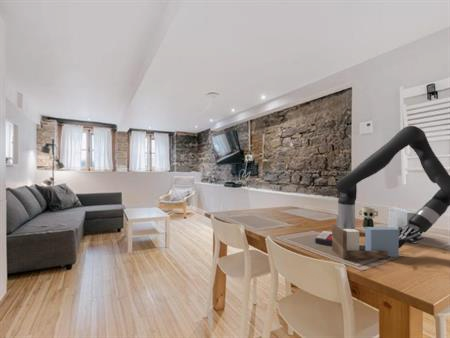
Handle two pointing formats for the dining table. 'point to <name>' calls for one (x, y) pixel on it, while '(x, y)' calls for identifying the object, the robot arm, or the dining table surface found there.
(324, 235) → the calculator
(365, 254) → the book rack
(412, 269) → the dining table surface
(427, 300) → the dining table surface
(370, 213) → the character mug
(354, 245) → the shelved book
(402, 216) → the skincare box
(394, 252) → the loose book
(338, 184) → the robot arm
